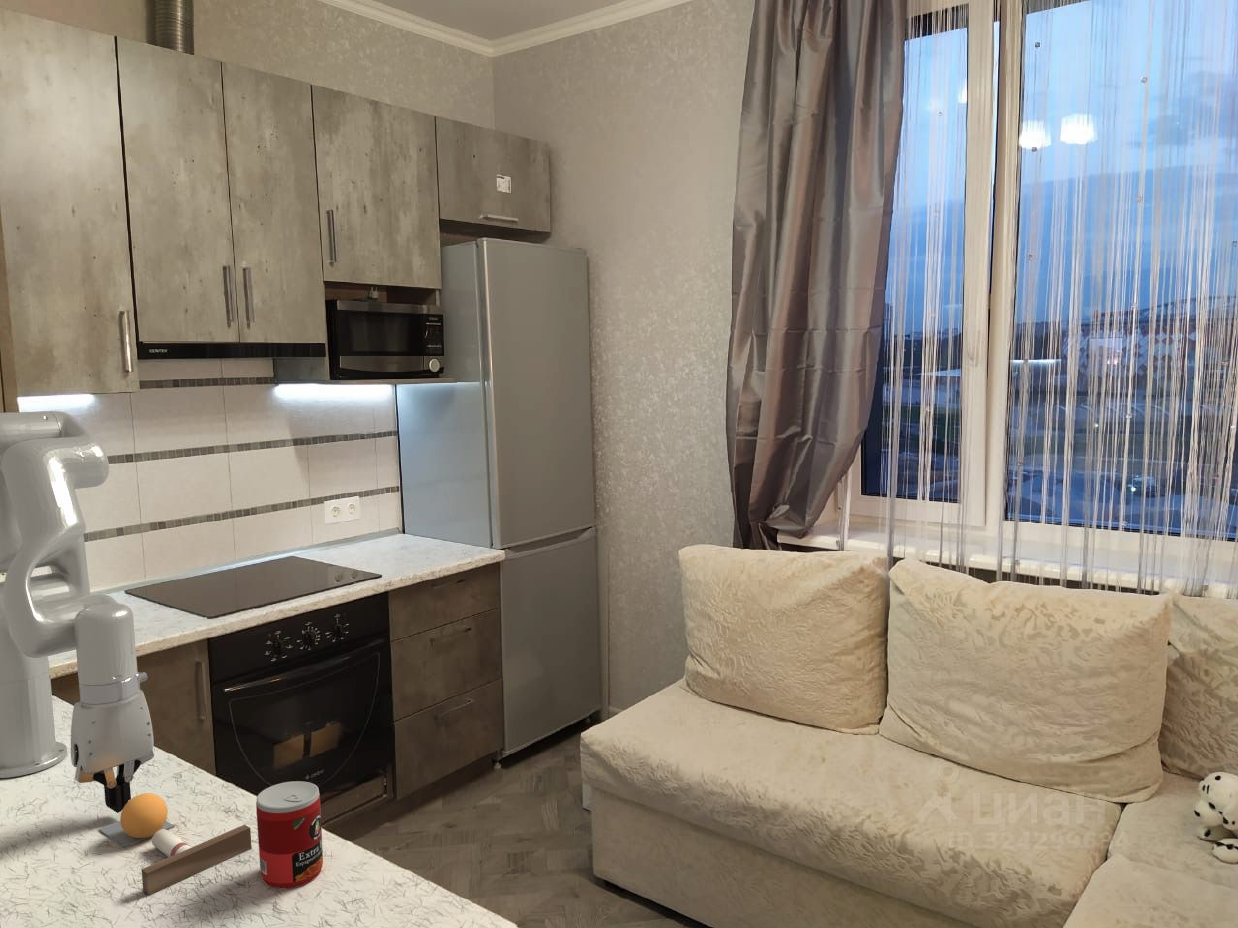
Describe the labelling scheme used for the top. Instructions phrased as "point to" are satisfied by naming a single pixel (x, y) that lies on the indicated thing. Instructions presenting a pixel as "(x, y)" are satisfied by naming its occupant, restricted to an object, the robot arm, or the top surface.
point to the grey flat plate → (121, 837)
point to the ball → (143, 815)
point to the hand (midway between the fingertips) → (118, 807)
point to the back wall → (195, 859)
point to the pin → (168, 843)
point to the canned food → (289, 834)
